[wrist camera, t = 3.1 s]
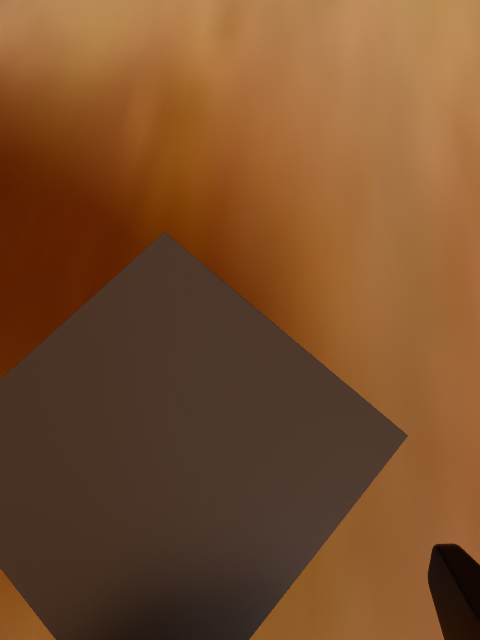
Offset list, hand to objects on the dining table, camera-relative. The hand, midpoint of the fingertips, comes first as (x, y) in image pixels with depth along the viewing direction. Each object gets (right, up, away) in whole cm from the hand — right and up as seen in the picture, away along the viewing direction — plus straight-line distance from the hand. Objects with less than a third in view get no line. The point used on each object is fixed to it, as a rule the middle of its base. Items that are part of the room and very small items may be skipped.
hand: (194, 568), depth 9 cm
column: (0, -1, +9) cm, 9 cm away
